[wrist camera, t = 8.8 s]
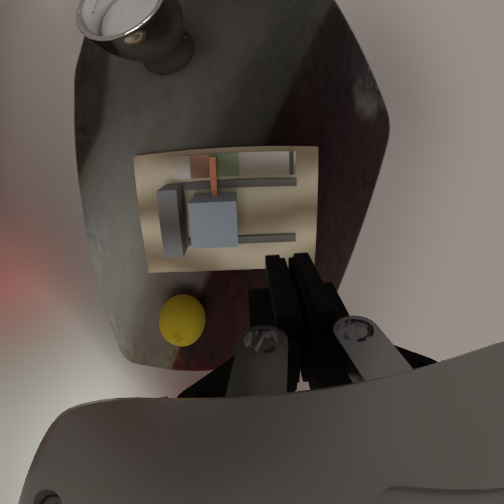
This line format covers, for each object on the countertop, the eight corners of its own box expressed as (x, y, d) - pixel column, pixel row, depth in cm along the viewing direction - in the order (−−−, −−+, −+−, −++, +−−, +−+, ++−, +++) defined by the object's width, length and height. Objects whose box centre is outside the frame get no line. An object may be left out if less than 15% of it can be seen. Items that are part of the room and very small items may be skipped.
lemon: (159, 290, 37) (143, 326, 29) (197, 277, 36) (188, 314, 29) (177, 323, 39) (166, 362, 32) (214, 312, 38) (210, 352, 31)
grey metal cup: (171, 89, 28) (119, 59, 14) (126, 61, 26) (57, 25, 12) (211, 42, 26) (191, -20, 12) (164, 16, 24) (119, -46, 10)
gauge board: (136, 155, 30) (119, 159, 25) (315, 146, 31) (329, 148, 26) (151, 268, 36) (139, 288, 31) (312, 261, 36) (322, 281, 31)
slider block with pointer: (192, 157, 29) (184, 161, 25) (235, 154, 29) (234, 158, 25) (198, 233, 33) (192, 248, 28) (238, 231, 33) (238, 246, 28)
